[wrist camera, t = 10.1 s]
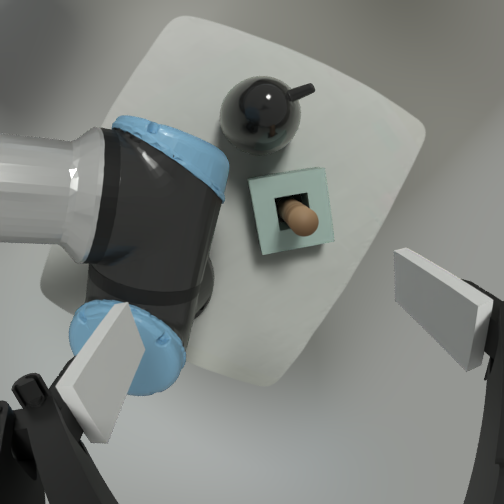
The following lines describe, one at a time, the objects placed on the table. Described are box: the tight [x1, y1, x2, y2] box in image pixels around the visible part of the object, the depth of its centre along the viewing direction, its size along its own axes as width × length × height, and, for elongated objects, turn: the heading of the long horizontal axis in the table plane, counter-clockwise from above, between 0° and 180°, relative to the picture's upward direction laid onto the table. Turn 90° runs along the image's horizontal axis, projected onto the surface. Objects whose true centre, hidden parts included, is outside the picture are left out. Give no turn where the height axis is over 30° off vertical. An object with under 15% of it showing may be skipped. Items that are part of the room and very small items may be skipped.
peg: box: [277, 197, 319, 237], centre depth 41 cm, size 3×3×12 cm
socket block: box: [248, 167, 334, 255], centre depth 44 cm, size 10×10×5 cm
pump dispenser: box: [220, 76, 315, 155], centre depth 36 cm, size 10×10×15 cm
